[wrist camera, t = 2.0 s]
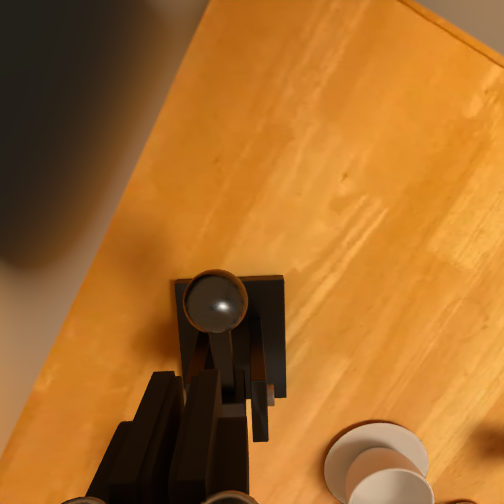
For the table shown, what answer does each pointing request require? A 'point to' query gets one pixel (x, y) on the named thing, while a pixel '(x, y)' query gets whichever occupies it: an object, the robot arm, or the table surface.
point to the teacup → (379, 467)
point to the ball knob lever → (220, 329)
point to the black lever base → (245, 346)
